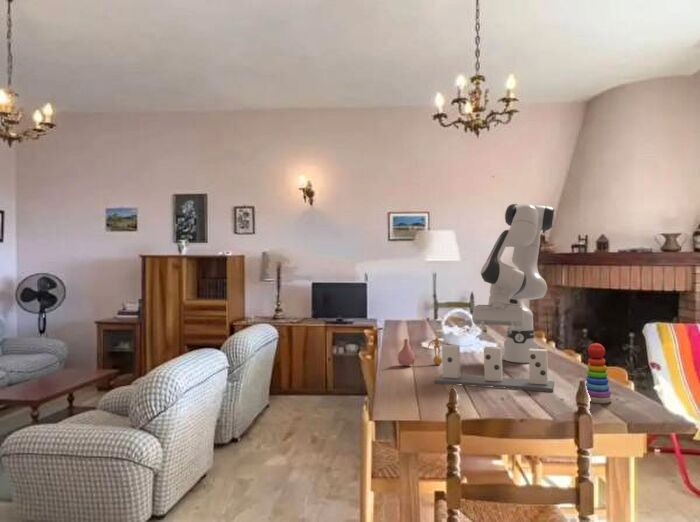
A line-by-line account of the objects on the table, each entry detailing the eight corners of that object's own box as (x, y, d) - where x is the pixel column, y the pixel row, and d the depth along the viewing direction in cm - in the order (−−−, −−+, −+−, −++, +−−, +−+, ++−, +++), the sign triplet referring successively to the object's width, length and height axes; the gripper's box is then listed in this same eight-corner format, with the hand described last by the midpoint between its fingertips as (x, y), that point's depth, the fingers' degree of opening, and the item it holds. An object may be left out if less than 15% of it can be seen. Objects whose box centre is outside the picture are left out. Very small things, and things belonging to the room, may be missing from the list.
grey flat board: (442, 376, 206) (442, 373, 206) (554, 384, 189) (554, 381, 189) (434, 383, 196) (434, 380, 196) (552, 392, 178) (552, 388, 178)
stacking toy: (581, 397, 170) (579, 341, 170) (606, 397, 170) (604, 341, 170) (589, 404, 163) (588, 345, 163) (616, 404, 162) (614, 345, 162)
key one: (445, 375, 202) (444, 344, 202) (460, 376, 200) (459, 345, 200) (442, 377, 199) (441, 346, 199) (457, 378, 196) (457, 347, 196)
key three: (530, 380, 189) (529, 348, 189) (548, 382, 187) (547, 349, 187) (529, 383, 185) (528, 350, 185) (547, 384, 183) (546, 351, 183)
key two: (486, 377, 196) (485, 346, 196) (502, 379, 193) (501, 347, 193) (484, 380, 192) (483, 348, 192) (501, 381, 190) (500, 349, 190)
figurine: (428, 365, 228) (428, 338, 228) (427, 363, 234) (427, 336, 234) (447, 365, 227) (446, 338, 227) (446, 362, 233) (445, 336, 233)
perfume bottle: (394, 365, 230) (394, 339, 230) (408, 363, 234) (408, 337, 234) (404, 368, 223) (403, 341, 223) (418, 366, 227) (417, 339, 227)
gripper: (472, 299, 214) (469, 325, 205) (524, 301, 206) (523, 328, 197) (474, 309, 218) (471, 335, 209) (525, 311, 210) (523, 338, 201)
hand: (496, 332), depth 203 cm, fingers open, 8 cm apart
